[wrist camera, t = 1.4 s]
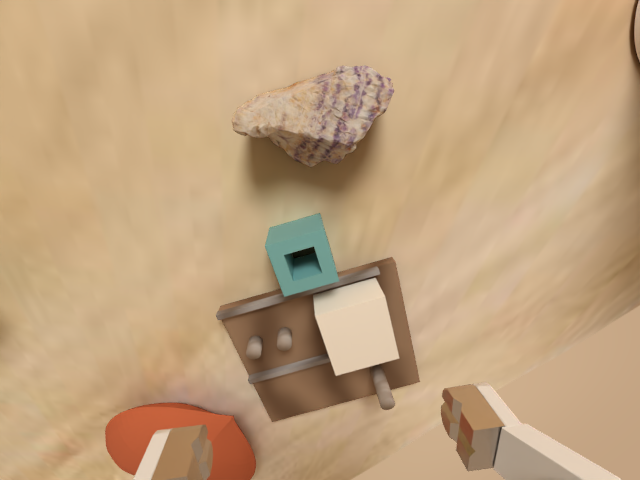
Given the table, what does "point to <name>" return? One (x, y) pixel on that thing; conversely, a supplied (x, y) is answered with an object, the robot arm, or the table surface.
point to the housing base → (314, 347)
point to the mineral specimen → (318, 113)
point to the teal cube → (306, 268)
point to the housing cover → (355, 326)
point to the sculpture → (142, 422)
